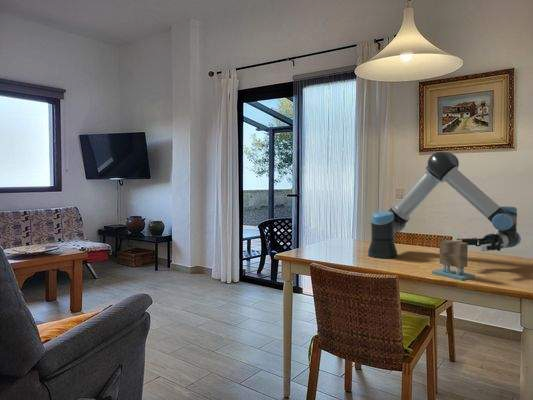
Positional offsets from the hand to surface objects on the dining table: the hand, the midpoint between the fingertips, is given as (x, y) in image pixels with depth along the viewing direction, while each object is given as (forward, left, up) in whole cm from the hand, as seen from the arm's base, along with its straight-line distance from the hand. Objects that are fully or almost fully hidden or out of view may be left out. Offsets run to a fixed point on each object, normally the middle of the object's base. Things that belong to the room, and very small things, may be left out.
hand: (466, 246), depth 175 cm
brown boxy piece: (-7, -5, -7) cm, 12 cm away
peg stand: (-7, -5, -12) cm, 15 cm away
